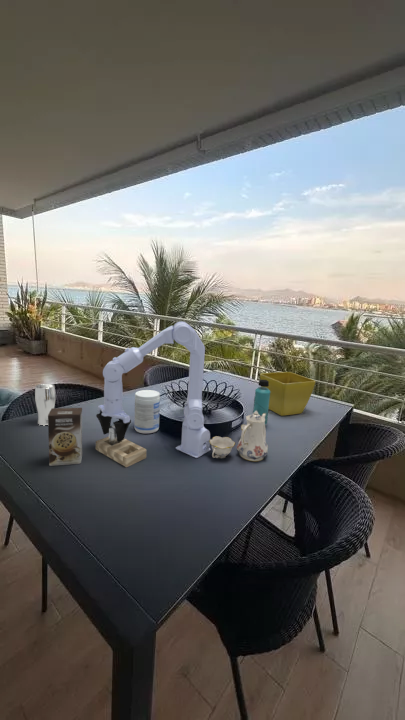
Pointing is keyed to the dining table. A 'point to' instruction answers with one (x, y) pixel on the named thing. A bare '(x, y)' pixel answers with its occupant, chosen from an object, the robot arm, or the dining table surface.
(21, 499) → the dining table surface
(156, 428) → the supplement tub
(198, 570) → the dining table surface
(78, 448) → the coffee box
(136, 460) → the hole block
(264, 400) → the beverage bottle
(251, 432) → the chinaware
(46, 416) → the beer glass
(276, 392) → the flower pot
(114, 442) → the peg
